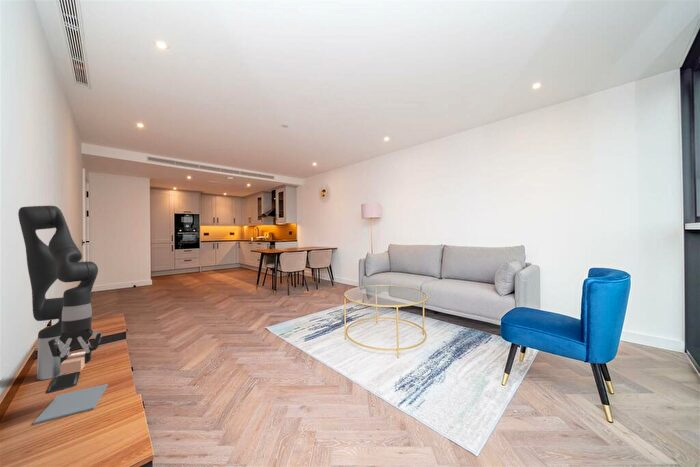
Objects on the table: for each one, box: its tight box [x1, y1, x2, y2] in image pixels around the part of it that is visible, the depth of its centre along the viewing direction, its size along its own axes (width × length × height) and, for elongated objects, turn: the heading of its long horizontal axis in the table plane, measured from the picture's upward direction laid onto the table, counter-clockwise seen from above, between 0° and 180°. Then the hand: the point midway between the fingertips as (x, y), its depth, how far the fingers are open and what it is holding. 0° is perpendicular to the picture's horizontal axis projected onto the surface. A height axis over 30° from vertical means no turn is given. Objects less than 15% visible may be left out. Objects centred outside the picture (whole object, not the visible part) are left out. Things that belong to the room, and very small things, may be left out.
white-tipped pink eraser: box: [60, 351, 87, 375], centre depth 94 cm, size 10×5×4 cm, turn 31°
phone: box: [47, 371, 81, 394], centre depth 108 cm, size 8×1×15 cm
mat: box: [32, 383, 109, 426], centre depth 94 cm, size 18×14×1 cm
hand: (76, 364), depth 94 cm, fingers closed on white-tipped pink eraser, 5 cm apart
